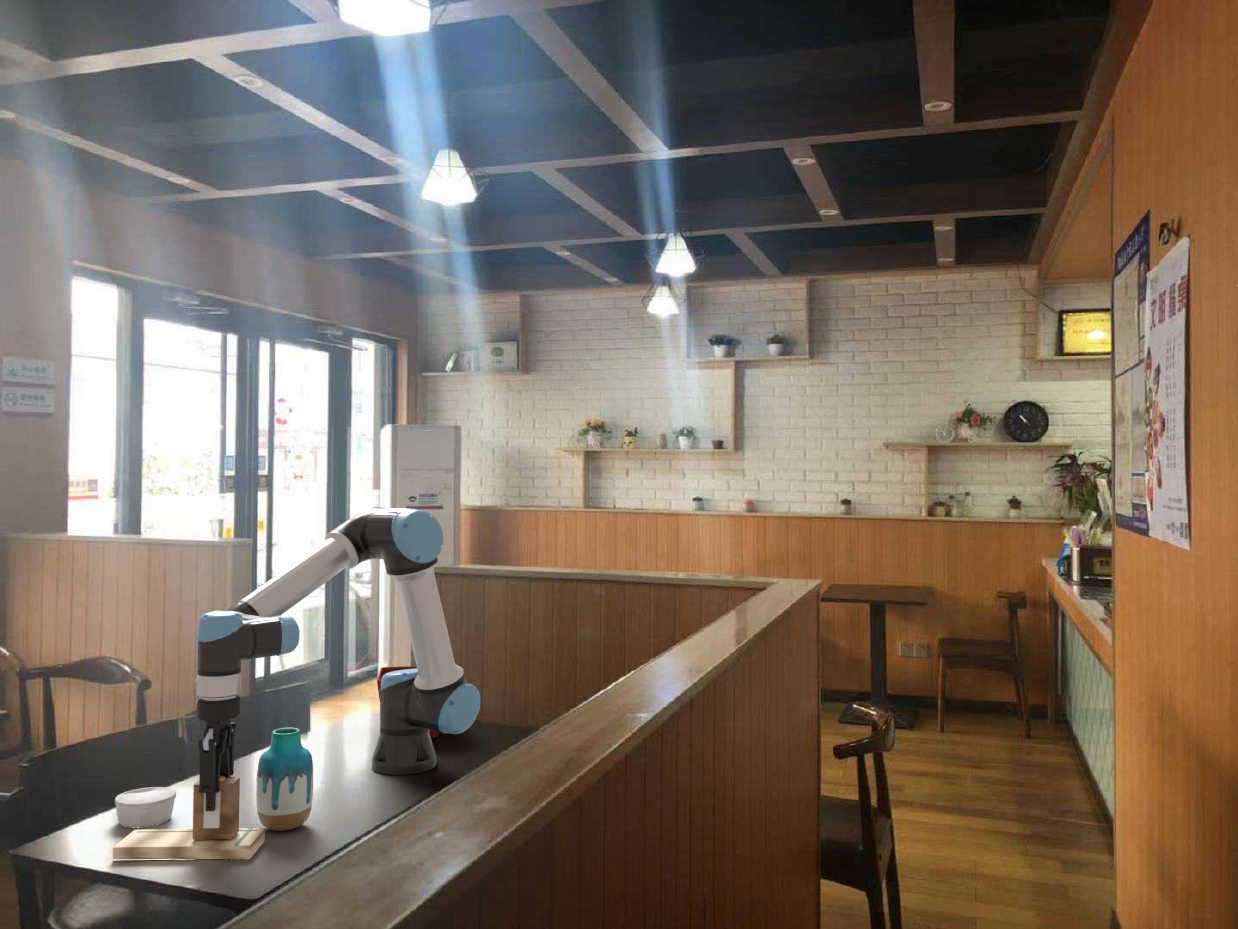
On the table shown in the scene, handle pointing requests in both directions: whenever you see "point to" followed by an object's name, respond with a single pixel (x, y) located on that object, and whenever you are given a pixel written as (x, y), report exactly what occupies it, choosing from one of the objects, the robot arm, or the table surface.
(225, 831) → the tan boxy wooden piece
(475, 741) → the table surface
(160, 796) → the ramekin
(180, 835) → the board
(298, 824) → the vase
